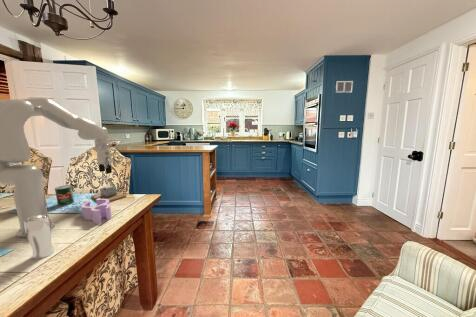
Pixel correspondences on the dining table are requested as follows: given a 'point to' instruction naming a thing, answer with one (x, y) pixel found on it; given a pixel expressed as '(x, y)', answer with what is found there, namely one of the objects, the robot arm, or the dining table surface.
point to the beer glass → (39, 235)
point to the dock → (112, 198)
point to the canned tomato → (64, 195)
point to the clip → (96, 210)
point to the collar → (108, 192)
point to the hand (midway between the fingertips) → (105, 172)
